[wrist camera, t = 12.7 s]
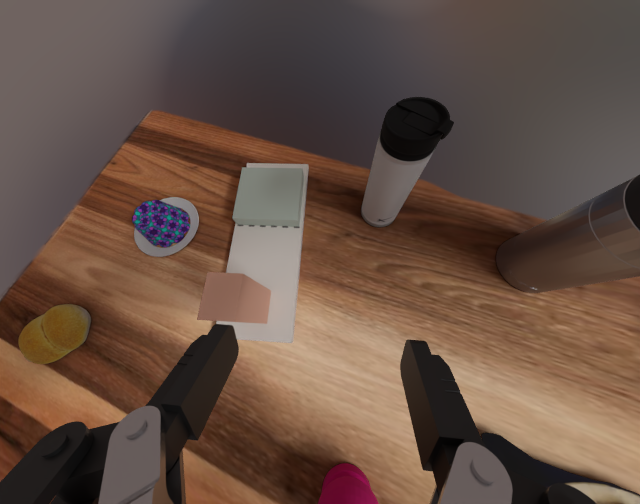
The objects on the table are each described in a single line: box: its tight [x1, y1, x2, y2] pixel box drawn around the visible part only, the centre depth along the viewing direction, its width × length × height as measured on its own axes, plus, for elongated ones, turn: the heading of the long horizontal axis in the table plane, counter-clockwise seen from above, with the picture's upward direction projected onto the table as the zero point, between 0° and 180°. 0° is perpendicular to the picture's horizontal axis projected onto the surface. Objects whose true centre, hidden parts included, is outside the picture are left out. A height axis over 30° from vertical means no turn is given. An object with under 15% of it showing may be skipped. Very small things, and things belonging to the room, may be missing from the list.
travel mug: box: [361, 97, 454, 227], centre depth 31 cm, size 6×7×20 cm
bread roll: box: [19, 304, 91, 364], centre depth 35 cm, size 8×9×4 cm
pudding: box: [132, 197, 199, 257], centre depth 40 cm, size 12×12×5 cm
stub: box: [197, 272, 271, 324], centre depth 29 cm, size 5×4×12 cm
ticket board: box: [216, 163, 309, 343], centre depth 38 cm, size 32×12×4 cm, turn 177°
